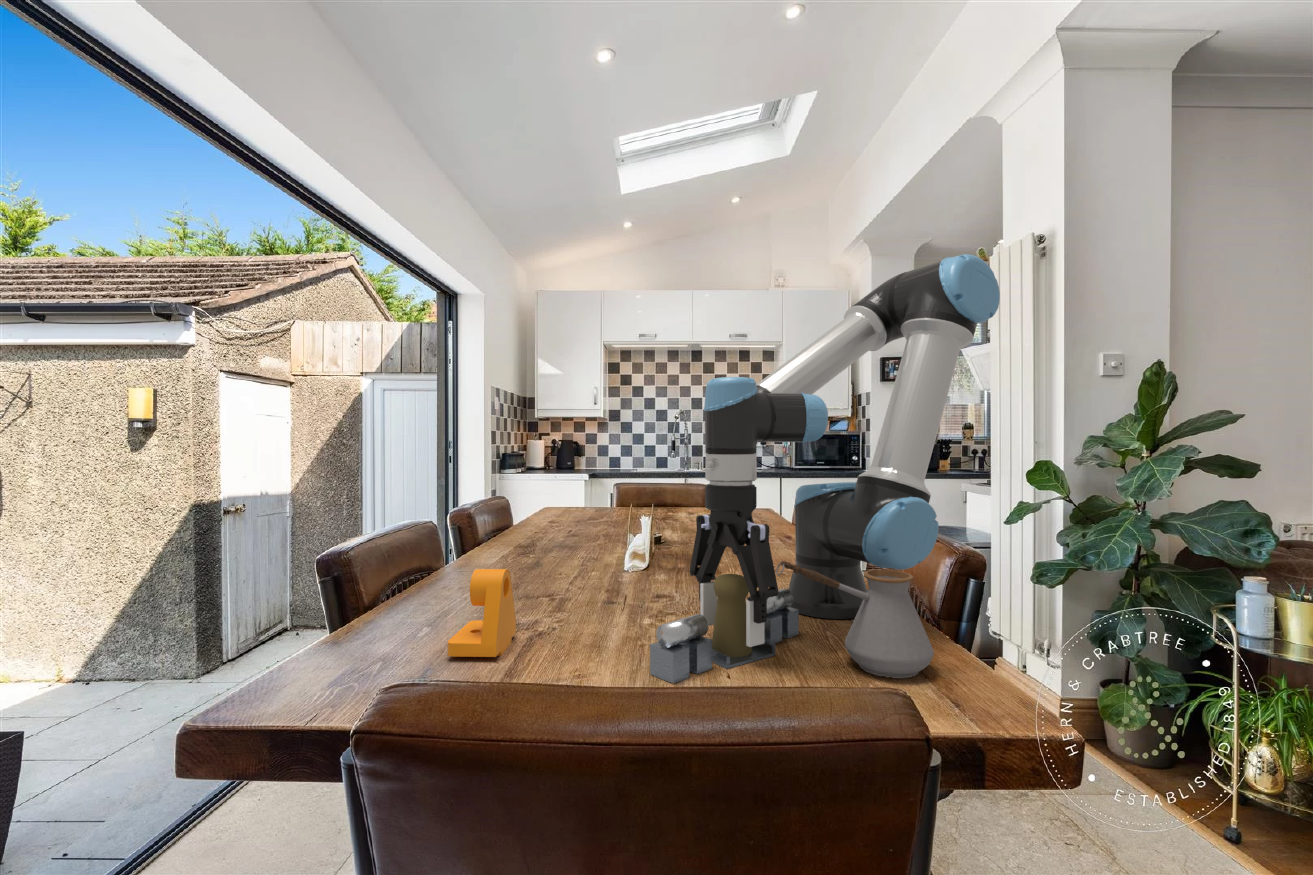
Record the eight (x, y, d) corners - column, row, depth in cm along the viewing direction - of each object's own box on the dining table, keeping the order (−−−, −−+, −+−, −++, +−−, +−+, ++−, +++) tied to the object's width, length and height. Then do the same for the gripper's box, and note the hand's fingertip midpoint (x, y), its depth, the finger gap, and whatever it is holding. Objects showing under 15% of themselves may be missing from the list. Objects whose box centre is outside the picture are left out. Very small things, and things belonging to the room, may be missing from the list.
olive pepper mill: (736, 660, 85) (736, 582, 85) (702, 650, 89) (702, 575, 89) (760, 649, 90) (760, 574, 90) (727, 639, 94) (727, 568, 94)
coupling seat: (734, 638, 96) (734, 628, 96) (775, 655, 88) (775, 644, 88) (687, 649, 91) (687, 638, 91) (726, 668, 83) (726, 657, 83)
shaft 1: (688, 659, 87) (688, 610, 87) (712, 668, 83) (711, 617, 83) (650, 674, 82) (650, 622, 81) (673, 683, 78) (673, 629, 78)
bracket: (470, 636, 97) (470, 561, 97) (515, 637, 97) (515, 562, 97) (445, 662, 86) (445, 577, 86) (496, 662, 86) (495, 577, 86)
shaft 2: (770, 645, 93) (770, 599, 92) (747, 638, 96) (747, 593, 96) (798, 634, 98) (798, 590, 98) (775, 627, 101) (775, 585, 101)
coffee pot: (907, 651, 90) (907, 550, 90) (951, 682, 78) (951, 566, 78) (766, 656, 88) (765, 552, 88) (790, 689, 77) (789, 570, 77)
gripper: (666, 479, 97) (667, 619, 97) (764, 489, 78) (765, 663, 78) (704, 477, 101) (704, 611, 101) (806, 487, 82) (806, 651, 82)
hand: (731, 634), depth 90 cm, fingers open, 10 cm apart
